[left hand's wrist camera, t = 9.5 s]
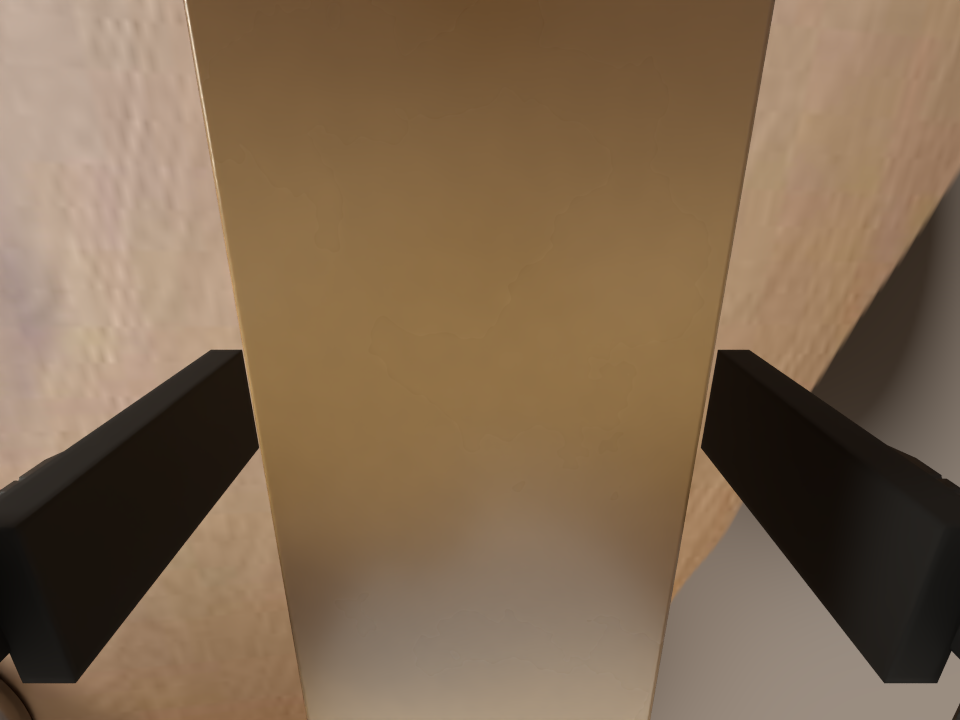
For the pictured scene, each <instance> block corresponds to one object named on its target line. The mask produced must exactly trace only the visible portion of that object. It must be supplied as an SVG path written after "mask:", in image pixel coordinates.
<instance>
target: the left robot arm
mask: <svg viewBox="0 0 960 720" xmlns="http://www.w3.org/2000/svg"><path fill="white" fill-rule="evenodd" d="M258 448H259V444H258V438H257V433H256V427H255V421H254V416H253V410H252V404H251V398H250V393H249V387H248V381H247V375H246V370H245V364H244V358H243V352H242V350H210V351H209V352H207V353H206V354H204V355H203V356H201V357H200V358H198V359H197V360H196V361H194V362H193V363H191V364H190V365H188V366H187V367H185V368H184V369H183V370H181V371H180V372H178V373H177V374H175V375H174V376H172V377H171V378H170V379H168V380H167V381H165V382H164V383H162V384H161V385H159V386H158V387H156V388H155V389H154V390H152V391H151V392H149V393H148V394H146V395H145V396H143V397H142V398H141V399H139V400H138V401H136V402H135V403H133V404H132V405H130V406H129V407H128V408H126V409H125V410H123V411H122V412H120V413H119V414H117V415H116V416H114V417H113V418H112V419H110V420H109V421H107V422H106V423H104V424H103V425H101V426H100V427H99V428H97V429H96V430H94V431H93V432H91V433H90V434H88V435H87V436H86V437H84V438H83V439H81V440H80V441H78V442H77V443H75V444H74V445H72V446H71V447H70V448H68V449H67V450H65V451H64V452H61V453H59V454H57V455H55V456H53V457H50V458H48V459H46V460H44V461H43V462H41V463H40V464H38V465H37V466H35V467H34V468H32V469H31V470H29V471H28V472H26V473H25V474H23V475H22V476H20V477H19V481H13V482H12V483H10V484H9V485H7V486H6V487H4V488H3V489H1V490H0V662H1V661H2V660H3V659H4V658H5V657H6V656H7V655H8V654H9V653H10V655H11V658H12V660H13V662H14V664H15V667H16V669H17V671H18V673H19V676H20V678H21V680H22V682H23V683H76V682H77V681H78V680H79V678H80V677H81V676H82V674H83V673H84V672H85V671H86V669H87V668H88V667H89V665H90V664H91V663H92V662H93V660H94V659H95V658H96V656H97V655H98V654H99V653H100V651H101V650H102V649H103V647H104V646H105V645H106V644H107V642H108V641H109V640H110V638H111V637H112V636H113V635H114V633H115V632H116V631H117V629H118V628H119V627H120V626H121V624H122V623H123V622H124V620H125V619H126V618H127V617H128V615H129V614H130V613H131V611H132V610H133V609H134V608H135V606H136V605H137V604H138V602H139V601H140V600H141V599H142V597H143V596H144V595H145V594H146V592H147V591H148V590H149V588H150V587H151V586H152V585H153V583H154V582H155V581H156V579H157V578H158V577H159V576H160V574H161V573H162V572H163V570H164V569H165V568H166V567H167V565H168V564H169V563H170V561H171V560H172V559H173V558H174V556H175V555H176V554H177V552H178V551H179V550H180V549H181V547H182V546H183V545H184V543H185V542H186V541H187V540H188V538H189V537H190V536H191V534H192V533H193V532H194V531H195V529H196V528H197V527H198V525H199V524H200V523H201V522H202V520H203V519H204V518H205V516H206V515H207V514H208V513H209V511H210V510H211V509H212V508H213V506H214V505H215V504H216V502H217V501H218V500H219V499H220V497H221V496H222V495H223V493H224V492H225V491H226V490H227V488H228V487H229V486H230V484H231V483H232V482H233V481H234V479H235V478H236V477H237V475H238V474H239V473H240V472H241V470H242V469H243V468H244V466H245V465H246V464H247V463H248V461H249V460H250V459H251V457H252V456H253V455H254V454H255V452H256V451H257V450H258ZM701 448H702V450H703V451H704V452H705V454H706V455H707V456H708V457H709V459H710V460H711V461H712V463H713V464H714V465H715V466H716V468H717V469H718V470H719V472H720V473H721V474H722V475H723V477H724V478H725V479H726V481H727V482H728V483H729V484H730V486H731V487H732V488H733V490H734V491H735V492H736V493H737V495H738V496H739V497H740V499H741V500H742V501H743V502H744V504H745V505H746V506H747V507H748V509H749V510H750V511H751V513H752V514H753V515H754V516H755V518H756V519H757V520H758V522H759V523H760V524H761V525H762V527H763V528H764V529H765V530H766V532H767V533H768V534H769V536H770V537H771V538H772V540H773V541H774V542H775V543H776V545H777V546H778V547H779V549H780V550H781V551H782V552H783V554H784V555H785V556H786V558H787V559H788V560H789V561H790V563H791V564H792V565H793V566H794V568H795V569H796V570H797V572H798V573H799V574H800V576H801V577H802V578H803V579H804V581H805V582H806V583H807V585H808V586H809V587H810V588H811V590H812V591H813V592H814V593H815V595H816V596H817V597H818V599H819V600H820V601H821V602H822V604H823V605H824V606H825V608H826V609H827V610H828V611H829V613H830V614H831V615H832V617H833V618H834V619H835V620H836V622H837V623H838V624H839V626H840V627H841V628H842V629H843V631H844V632H845V633H846V635H847V636H848V637H849V638H850V640H851V641H852V642H853V644H854V645H855V646H856V647H857V649H858V650H859V651H860V653H861V654H862V655H863V656H864V658H865V659H866V660H867V661H868V663H869V664H870V665H871V667H872V668H873V669H874V670H875V672H876V673H877V674H878V676H879V677H880V678H881V679H882V681H883V682H884V683H937V682H938V680H939V678H940V676H941V673H942V671H943V669H944V667H945V664H946V662H947V660H948V658H949V655H950V653H951V651H952V652H953V653H954V654H955V655H956V656H957V657H958V658H959V659H960V487H958V486H957V485H955V484H954V483H952V482H951V481H949V480H948V479H942V477H941V475H940V474H939V473H937V472H936V471H934V470H933V469H931V468H930V467H929V466H927V465H926V464H924V463H923V462H921V461H920V460H918V459H917V458H915V457H912V456H910V455H908V454H906V453H903V452H901V451H899V450H897V449H895V448H892V447H890V446H888V445H886V444H885V443H883V442H882V441H880V440H879V439H877V438H876V437H874V436H873V435H872V434H870V433H869V432H867V431H866V430H864V429H863V428H861V427H860V426H858V425H857V424H856V423H854V422H853V421H851V420H850V419H848V418H847V417H846V416H844V415H843V414H841V413H840V412H838V411H837V410H835V409H834V408H832V407H831V406H830V405H828V404H827V403H825V402H824V401H822V400H821V399H819V398H818V397H817V396H815V395H814V394H812V393H811V392H809V391H808V390H806V389H805V388H804V387H802V386H801V385H799V384H798V383H796V382H795V381H793V380H792V379H790V378H789V377H788V376H786V375H785V374H783V373H782V372H780V371H779V370H777V369H776V368H775V367H773V366H772V365H770V364H769V363H767V362H766V361H764V360H763V359H762V358H760V357H759V356H757V355H756V354H754V353H753V352H751V351H750V350H718V352H717V358H716V364H715V370H714V375H713V381H712V387H711V393H710V398H709V404H708V410H707V416H706V421H705V427H704V433H703V439H702V444H701ZM0 720H32V719H31V717H30V715H29V713H28V711H27V710H26V708H25V706H24V705H23V703H22V702H21V701H20V699H19V698H18V697H17V695H16V694H15V693H14V692H13V691H12V690H11V689H10V688H9V687H8V686H7V685H6V684H5V683H4V682H3V681H2V680H1V679H0ZM952 720H960V704H959V706H958V708H957V711H956V713H955V715H954V717H953V719H952Z"/></svg>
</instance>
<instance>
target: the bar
mask: <svg viewBox="0 0 960 720" xmlns="http://www.w3.org/2000/svg"><path fill="white" fill-rule="evenodd" d="M183 2H184V8H185V14H186V20H187V26H188V31H189V37H190V43H191V49H192V54H193V60H194V66H195V72H196V78H197V83H198V89H199V95H200V101H201V107H202V112H203V118H204V124H205V130H206V136H207V141H208V147H209V153H210V159H211V165H212V170H213V176H214V182H215V188H216V194H217V199H218V205H219V211H220V217H221V223H222V228H223V234H224V240H225V246H226V252H227V257H228V263H229V269H230V275H231V281H232V286H233V292H234V298H235V304H236V310H237V315H238V321H239V327H240V333H241V339H242V344H243V350H244V356H245V362H246V368H247V373H248V379H249V385H250V391H251V397H252V402H253V408H254V414H255V420H256V426H257V431H258V437H259V443H260V449H261V455H262V460H263V466H264V472H265V478H266V484H267V489H268V495H269V501H270V507H271V513H272V518H273V524H274V530H275V536H276V542H277V547H278V553H279V559H280V565H281V571H282V576H283V582H284V588H285V594H286V600H287V605H288V611H289V617H290V623H291V629H292V634H293V640H294V646H295V652H296V658H297V663H298V669H299V675H300V681H301V687H302V692H303V698H304V704H305V710H306V716H307V720H650V717H651V711H652V706H653V700H654V694H655V688H656V682H657V677H658V671H659V665H660V660H661V654H662V648H663V642H664V637H665V631H666V625H667V619H668V614H669V608H670V602H671V596H672V591H673V585H674V579H675V573H676V567H677V562H678V556H679V550H680V544H681V539H682V533H683V527H684V521H685V516H686V510H687V504H688V498H689V493H690V487H691V481H692V475H693V470H694V464H695V458H696V452H697V447H698V441H699V435H700V429H701V424H702V418H703V412H704V406H705V400H706V395H707V389H708V383H709V377H710V372H711V366H712V360H713V354H714V349H715V343H716V337H717V331H718V326H719V320H720V314H721V308H722V303H723V297H724V291H725V285H726V280H727V274H728V268H729V262H730V257H731V251H732V245H733V239H734V233H735V228H736V222H737V216H738V210H739V205H740V199H741V193H742V187H743V182H744V176H745V170H746V164H747V159H748V153H749V147H750V141H751V136H752V130H753V124H754V118H755V113H756V107H757V101H758V95H759V89H760V84H761V78H762V72H763V66H764V61H765V55H766V49H767V43H768V38H769V32H770V26H771V20H772V15H773V9H774V3H775V0H183Z"/></svg>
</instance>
